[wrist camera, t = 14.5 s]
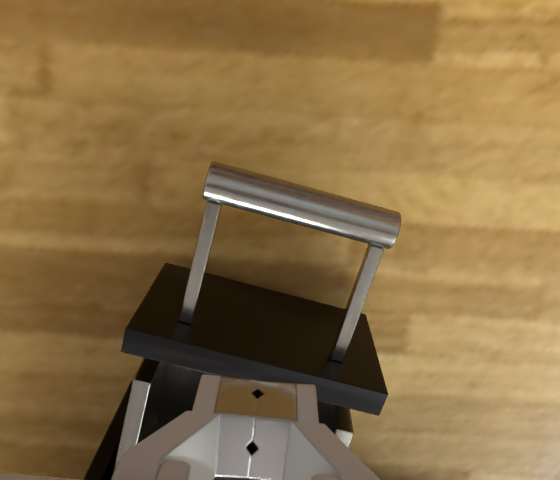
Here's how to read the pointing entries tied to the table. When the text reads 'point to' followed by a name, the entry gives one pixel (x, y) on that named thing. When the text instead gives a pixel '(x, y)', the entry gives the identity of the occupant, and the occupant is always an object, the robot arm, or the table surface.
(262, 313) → the black drawer
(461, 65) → the table surface
